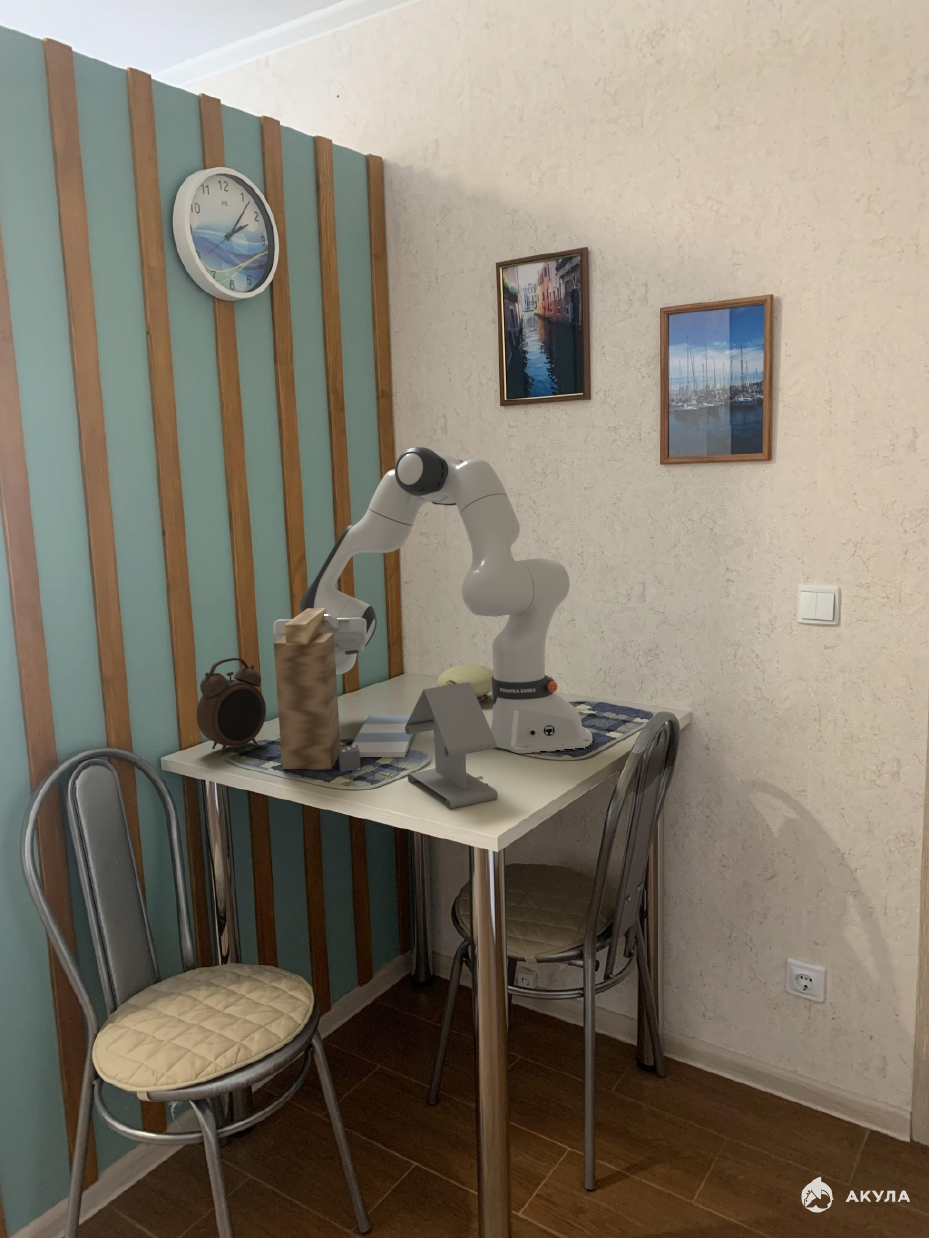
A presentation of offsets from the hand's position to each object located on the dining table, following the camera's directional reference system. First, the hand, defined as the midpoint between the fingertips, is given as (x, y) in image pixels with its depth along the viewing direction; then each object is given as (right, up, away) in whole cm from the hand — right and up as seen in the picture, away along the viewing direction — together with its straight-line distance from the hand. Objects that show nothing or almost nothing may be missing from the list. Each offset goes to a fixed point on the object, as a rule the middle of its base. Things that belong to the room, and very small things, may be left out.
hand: (313, 618), depth 198 cm
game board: (+14, -27, +11) cm, 32 cm away
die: (+9, -30, -9) cm, 33 cm away
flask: (+32, -21, +39) cm, 55 cm away
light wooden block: (0, -4, -6) cm, 7 cm away
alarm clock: (-18, -29, +7) cm, 34 cm away
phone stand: (+29, -32, -24) cm, 50 cm away
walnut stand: (0, -30, -4) cm, 30 cm away
